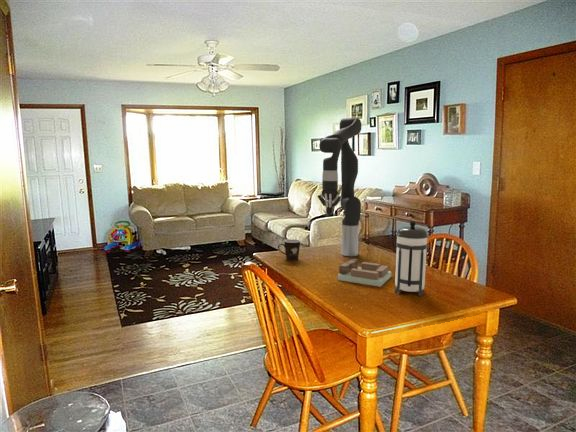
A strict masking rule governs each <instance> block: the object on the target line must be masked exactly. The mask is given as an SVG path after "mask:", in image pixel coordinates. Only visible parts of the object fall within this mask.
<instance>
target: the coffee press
mask: <svg viewBox="0 0 576 432" xmlns="http://www.w3.org/2000/svg"><path fill="white" fill-rule="evenodd" d="M409 225H410V226H409ZM409 225H408V226H401V227H400V228H399V229H397V231H396V233H395V235H396V244H395V247H396V253H395V254H396V255H395V256H396V257H395V274H394V275H395V276H394V277H395V278H394V279H395V281H394V285H395V286H394V287H396V288H395V290H394V294H396V295H399V294H401V292H402V291H403V292H409V293H412V292H413V293H414V292H415V293H417V295H418V296H419V297H423V296H424V294H425V293H424V291H423V290H424V289H425V286H426V285H425V284H426V283H425V282H426V269H427V252H428V251H427V250H428V238H429V234H428V231H427V230H426V229H425V228H423V227H419V226H416V222H415V221H413V220H412V221H410V222H409Z"/></svg>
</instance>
